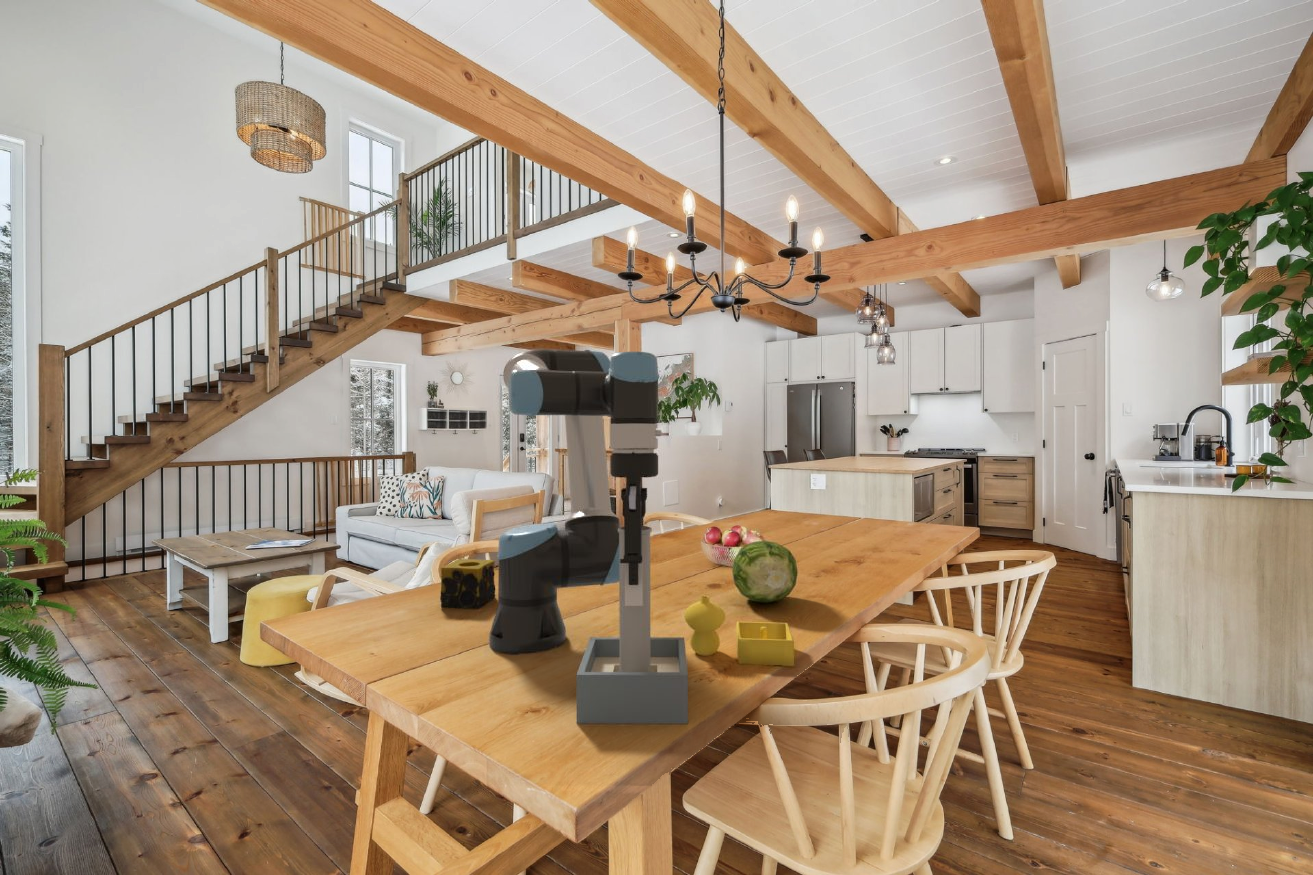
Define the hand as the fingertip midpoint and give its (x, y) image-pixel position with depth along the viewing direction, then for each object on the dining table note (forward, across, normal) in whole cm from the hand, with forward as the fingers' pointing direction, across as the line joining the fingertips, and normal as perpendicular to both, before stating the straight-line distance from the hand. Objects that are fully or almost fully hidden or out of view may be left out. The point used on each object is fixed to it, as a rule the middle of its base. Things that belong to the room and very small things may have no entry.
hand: (634, 599), depth 94 cm
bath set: (+16, +20, -18) cm, 31 cm away
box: (+16, 0, 0) cm, 16 cm away
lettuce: (+16, +53, -29) cm, 62 cm away
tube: (+14, 0, 0) cm, 14 cm away
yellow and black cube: (+16, +54, +44) cm, 72 cm away
